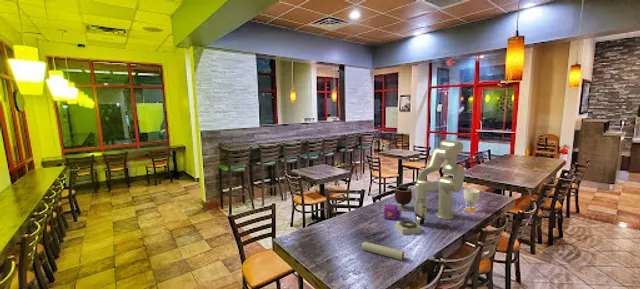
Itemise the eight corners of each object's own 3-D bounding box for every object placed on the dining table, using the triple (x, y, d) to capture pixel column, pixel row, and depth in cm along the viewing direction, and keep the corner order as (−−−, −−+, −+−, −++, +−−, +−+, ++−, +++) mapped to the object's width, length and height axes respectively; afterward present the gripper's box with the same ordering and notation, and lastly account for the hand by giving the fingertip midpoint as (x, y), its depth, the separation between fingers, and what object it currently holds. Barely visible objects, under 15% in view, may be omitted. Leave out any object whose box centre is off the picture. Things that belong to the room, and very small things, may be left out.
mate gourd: (394, 210, 228) (394, 187, 225) (394, 205, 241) (395, 182, 238) (413, 212, 224) (414, 188, 221) (413, 206, 237) (413, 184, 234)
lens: (420, 221, 204) (421, 214, 204) (424, 224, 200) (425, 216, 199) (414, 222, 203) (414, 214, 203) (418, 225, 199) (418, 217, 198)
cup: (463, 212, 222) (464, 191, 220) (461, 207, 233) (462, 187, 231) (479, 214, 218) (481, 193, 215) (477, 208, 229) (478, 189, 226)
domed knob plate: (413, 226, 198) (413, 219, 197) (421, 232, 188) (421, 225, 188) (395, 228, 195) (395, 221, 195) (402, 235, 185) (402, 227, 185)
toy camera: (402, 221, 208) (402, 208, 206) (383, 220, 210) (384, 207, 209) (401, 215, 218) (401, 203, 217) (383, 214, 221) (383, 202, 219)
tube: (359, 245, 166) (401, 255, 153) (363, 239, 170) (403, 248, 157) (360, 251, 168) (402, 262, 155) (364, 245, 172) (404, 255, 159)
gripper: (431, 202, 191) (431, 227, 194) (418, 195, 208) (417, 217, 211) (422, 204, 190) (421, 228, 193) (409, 196, 206) (409, 219, 209)
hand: (419, 222), depth 201 cm, fingers closed on lens, 5 cm apart
